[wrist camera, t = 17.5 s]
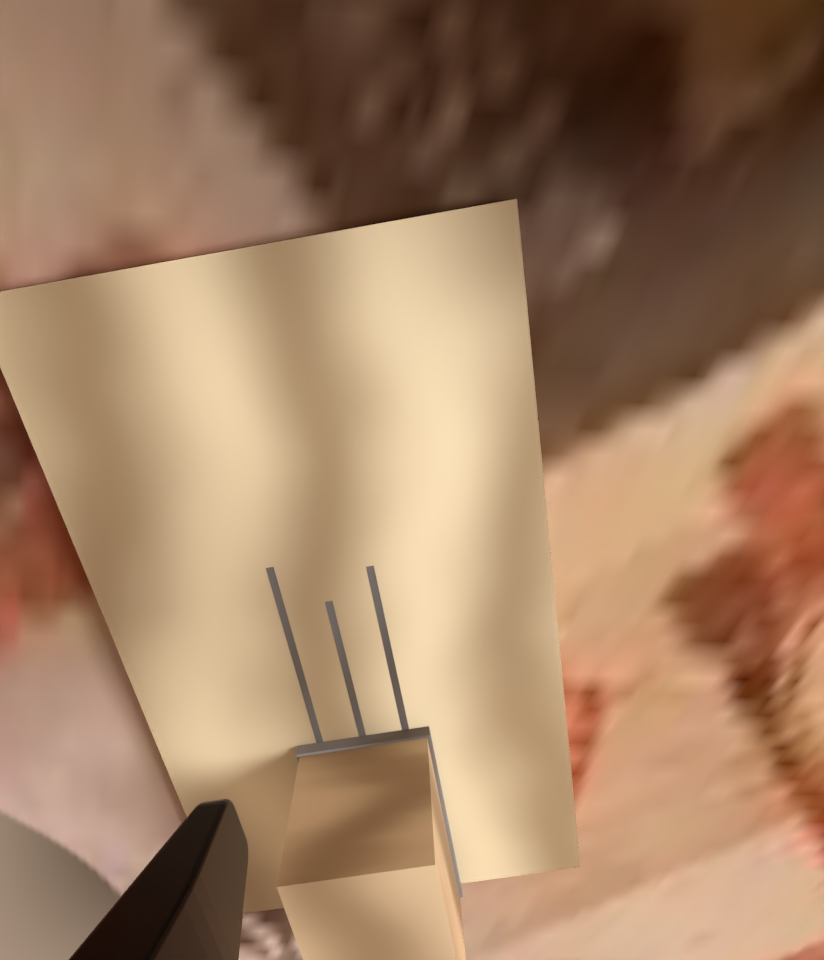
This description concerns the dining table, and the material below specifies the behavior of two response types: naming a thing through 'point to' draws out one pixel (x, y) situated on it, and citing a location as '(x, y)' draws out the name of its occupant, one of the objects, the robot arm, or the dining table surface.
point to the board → (317, 515)
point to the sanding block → (371, 852)
